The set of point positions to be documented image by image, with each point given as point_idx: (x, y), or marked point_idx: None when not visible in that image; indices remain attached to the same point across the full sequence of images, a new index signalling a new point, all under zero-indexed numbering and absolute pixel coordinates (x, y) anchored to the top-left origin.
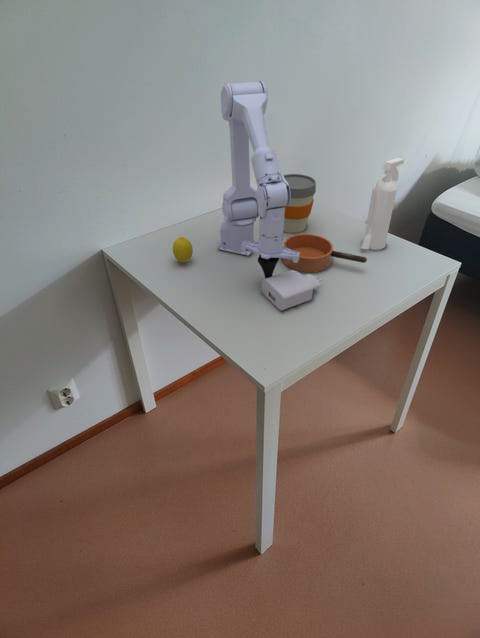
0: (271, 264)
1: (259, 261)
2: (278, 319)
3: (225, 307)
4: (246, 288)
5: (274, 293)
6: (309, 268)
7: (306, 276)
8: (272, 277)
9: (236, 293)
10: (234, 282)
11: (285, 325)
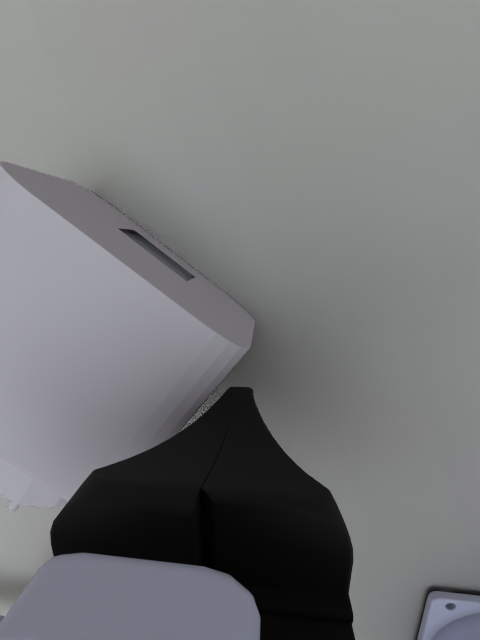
0: (122, 477)
1: (306, 497)
2: (79, 111)
3: (438, 72)
4: (357, 327)
5: (119, 240)
6: None
7: (29, 480)
8: (178, 387)
9: (404, 258)
10: (447, 358)
11: (21, 71)
